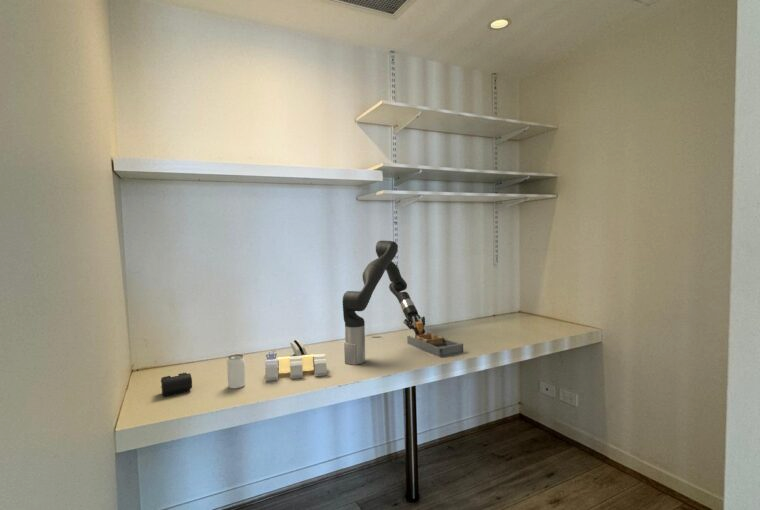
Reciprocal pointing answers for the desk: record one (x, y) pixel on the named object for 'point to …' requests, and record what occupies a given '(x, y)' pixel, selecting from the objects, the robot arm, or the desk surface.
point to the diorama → (294, 365)
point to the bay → (437, 347)
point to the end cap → (176, 384)
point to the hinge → (298, 348)
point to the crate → (428, 336)
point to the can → (236, 371)
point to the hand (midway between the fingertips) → (421, 333)
